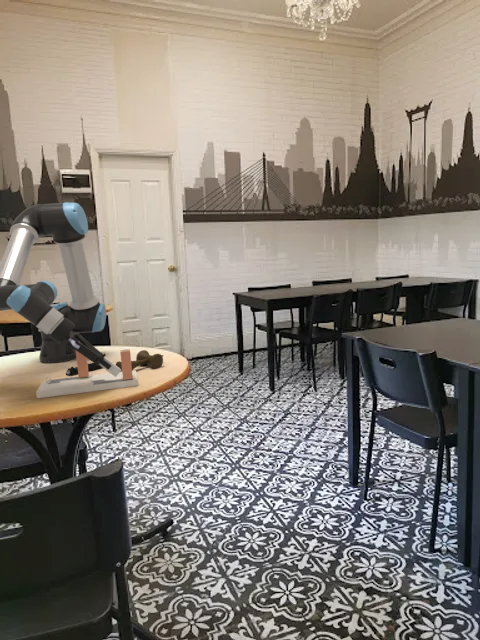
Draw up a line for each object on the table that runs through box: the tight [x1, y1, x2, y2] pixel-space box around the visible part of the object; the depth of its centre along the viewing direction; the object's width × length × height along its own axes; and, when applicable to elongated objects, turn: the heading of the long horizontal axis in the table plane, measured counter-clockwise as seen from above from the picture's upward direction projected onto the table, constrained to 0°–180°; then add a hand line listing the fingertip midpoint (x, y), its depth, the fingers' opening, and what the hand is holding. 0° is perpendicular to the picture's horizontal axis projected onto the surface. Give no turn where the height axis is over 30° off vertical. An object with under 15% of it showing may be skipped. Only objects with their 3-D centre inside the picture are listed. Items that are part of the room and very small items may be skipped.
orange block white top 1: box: [75, 351, 90, 378], centre depth 154 cm, size 3×3×10 cm
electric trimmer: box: [65, 362, 103, 377], centre depth 172 cm, size 4×16×3 cm, turn 133°
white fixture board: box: [36, 369, 139, 399], centre depth 151 cm, size 14×30×3 cm, turn 105°
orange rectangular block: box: [119, 347, 133, 380], centre depth 148 cm, size 3×3×10 cm
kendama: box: [115, 349, 164, 372], centre depth 170 cm, size 6×10×20 cm
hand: (118, 373), depth 147 cm, fingers closed
